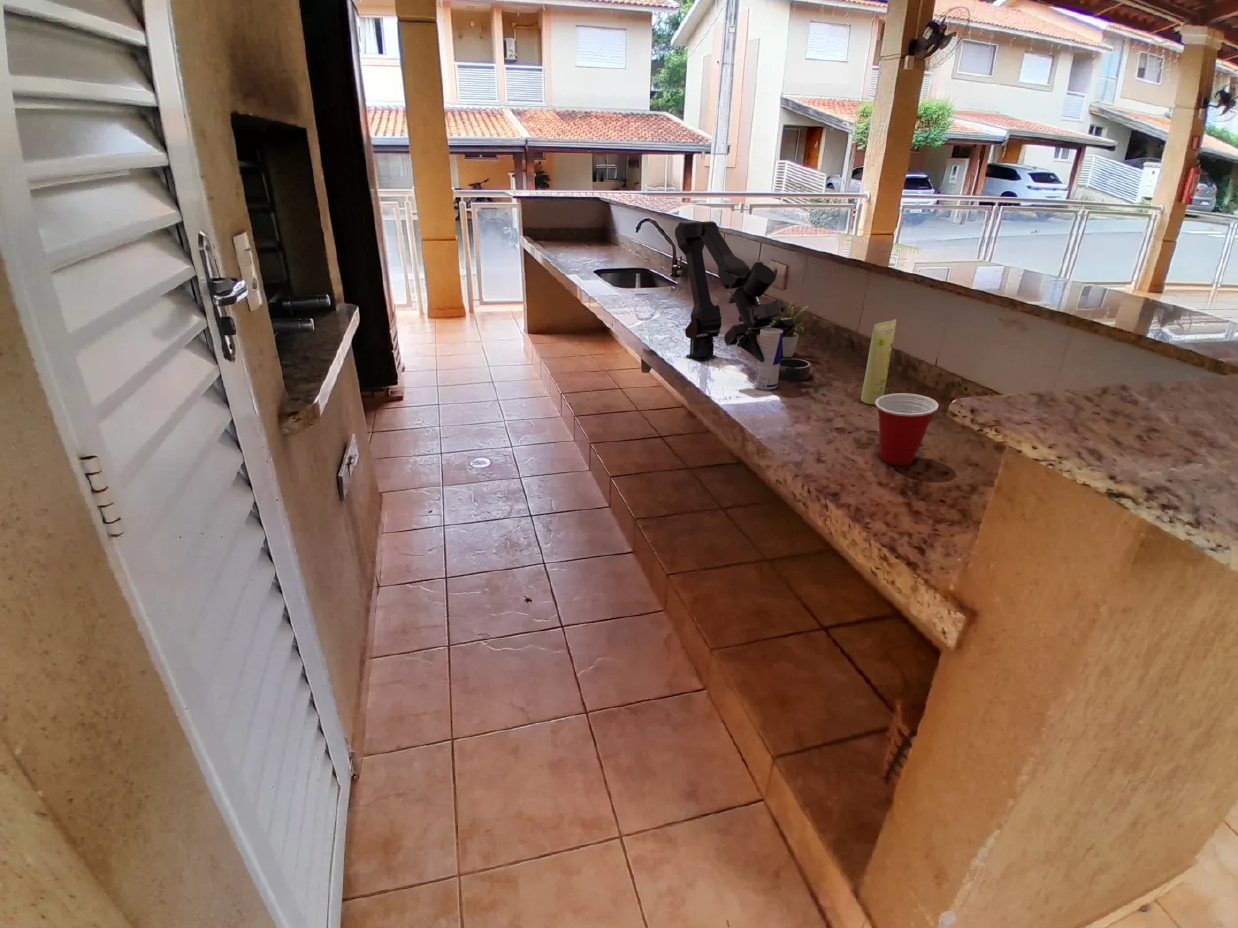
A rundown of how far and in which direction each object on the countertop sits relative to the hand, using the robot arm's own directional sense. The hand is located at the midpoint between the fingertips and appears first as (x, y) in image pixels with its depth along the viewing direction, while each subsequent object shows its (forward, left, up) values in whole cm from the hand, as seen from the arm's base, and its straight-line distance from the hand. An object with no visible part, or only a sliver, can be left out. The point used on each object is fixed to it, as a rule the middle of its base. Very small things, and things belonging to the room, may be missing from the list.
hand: (772, 360), depth 155 cm
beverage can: (-1, 0, -8) cm, 8 cm away
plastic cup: (+42, -18, -8) cm, 46 cm away
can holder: (-2, +13, -8) cm, 16 cm away
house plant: (-16, +28, -8) cm, 34 cm away
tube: (+23, +9, -8) cm, 26 cm away
